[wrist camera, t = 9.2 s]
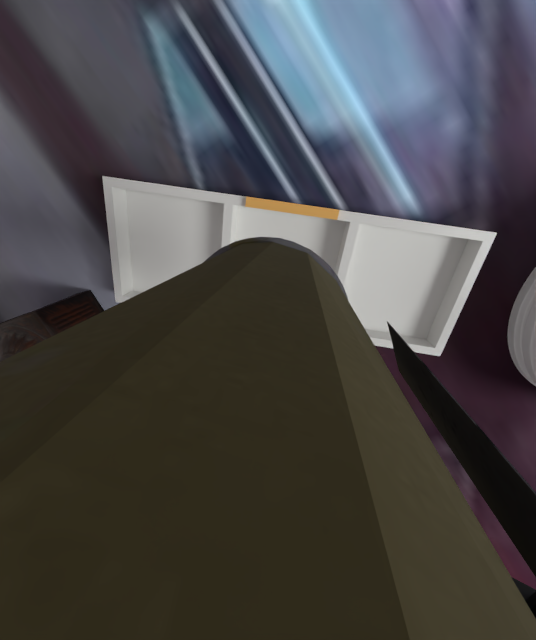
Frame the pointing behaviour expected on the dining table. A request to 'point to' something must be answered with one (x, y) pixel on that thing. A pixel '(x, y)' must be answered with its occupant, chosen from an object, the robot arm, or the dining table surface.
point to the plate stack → (524, 330)
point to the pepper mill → (46, 323)
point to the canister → (245, 473)
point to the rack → (313, 233)
